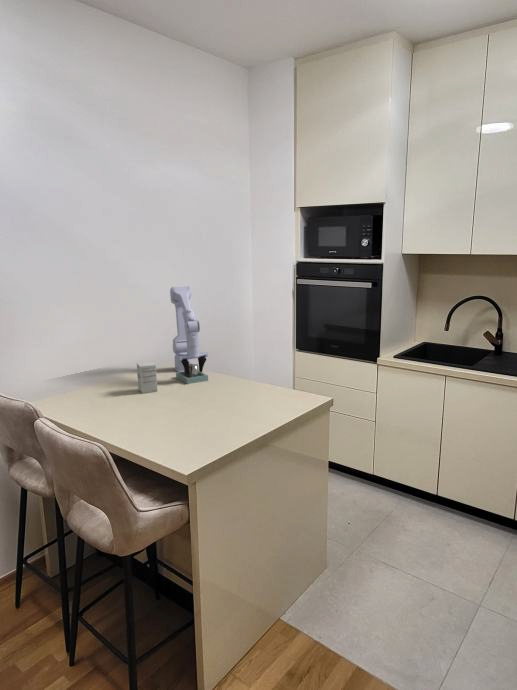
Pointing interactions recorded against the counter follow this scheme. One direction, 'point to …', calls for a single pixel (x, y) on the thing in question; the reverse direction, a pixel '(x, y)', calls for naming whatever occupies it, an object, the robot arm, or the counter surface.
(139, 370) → the supplement box
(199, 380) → the parts tray
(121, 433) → the counter surface
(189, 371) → the walnut block
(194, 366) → the grey peg
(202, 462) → the counter surface
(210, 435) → the counter surface
